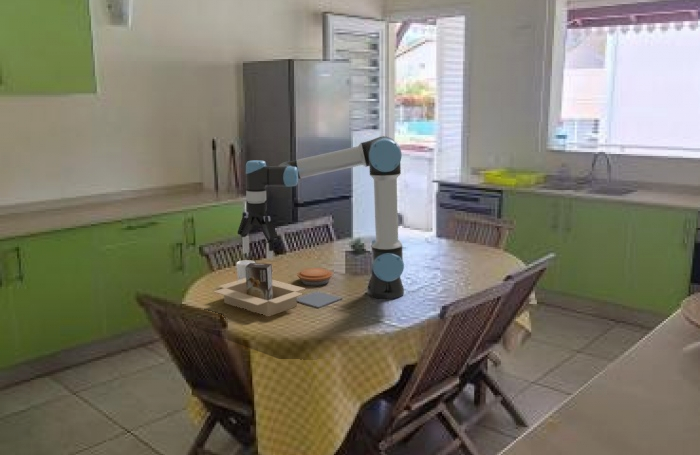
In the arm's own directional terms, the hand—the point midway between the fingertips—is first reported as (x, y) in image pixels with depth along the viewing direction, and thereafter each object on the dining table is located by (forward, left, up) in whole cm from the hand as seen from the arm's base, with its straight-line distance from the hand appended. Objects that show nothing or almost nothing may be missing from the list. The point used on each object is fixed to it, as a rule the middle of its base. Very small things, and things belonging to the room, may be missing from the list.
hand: (257, 255), depth 244 cm
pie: (+4, -36, -20) cm, 42 cm away
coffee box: (0, 0, -20) cm, 20 cm away
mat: (-14, -18, -20) cm, 30 cm away
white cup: (+24, -14, -20) cm, 34 cm away
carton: (0, 0, -20) cm, 20 cm away
